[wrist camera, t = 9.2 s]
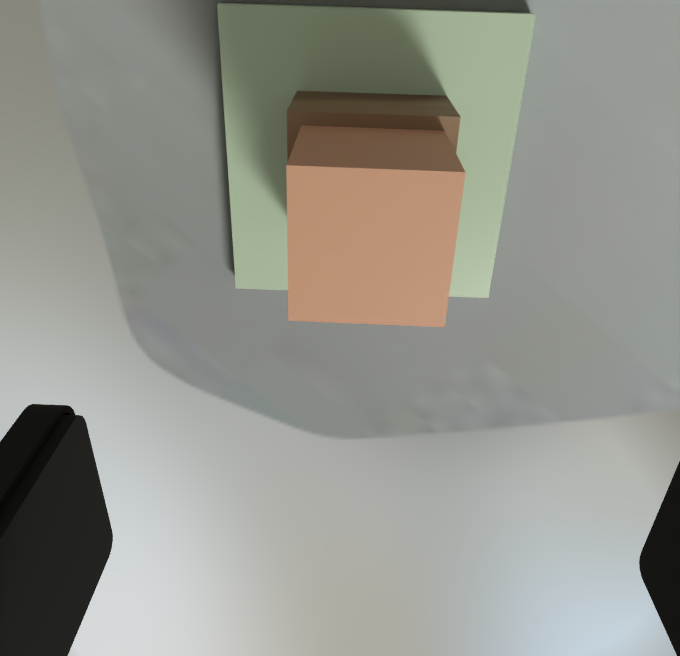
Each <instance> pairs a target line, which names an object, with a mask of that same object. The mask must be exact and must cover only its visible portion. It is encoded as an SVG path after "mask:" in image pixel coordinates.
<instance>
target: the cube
mask: <svg viewBox="0 0 680 656" xmlns="http://www.w3.org/2000/svg"><path fill="white" fill-rule="evenodd" d="M465 173H466V172H465V170H464V168H463V166H462V164H461V162H460V160H459V158H458V156H457V154H456V152H455V150H454V148H453V146H452V144H451V142H450V140H449V138H448V136H447V134H446V132H445V131H438V130H411V129H385V128H358V127H332V126H305V125H301V128H300V130H299V133H298V136H297V138H296V141H295V144H294V146H293V149H292V152H291V154H290V157H289V160H288V162H287V165H286V176H287V247H288V318H289V321H311V322H335V323H359V324H383V325H408V326H432V327H445V321H446V314H447V306H448V299H449V292H450V284H451V277H452V269H453V262H454V255H455V247H456V240H457V232H458V225H459V218H460V210H461V203H462V196H463V188H464V181H465Z"/></svg>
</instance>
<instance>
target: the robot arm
mask: <svg viewBox="0 0 680 656" xmlns="http://www.w3.org/2000/svg"><path fill="white" fill-rule="evenodd" d="M112 538H113V534H112V529H111V525H110V520H109V516H108V513H107V508H106V504H105V500H104V496H103V492H102V487H101V483H100V479H99V475H98V471H97V467H96V462H95V458H94V454H93V450H92V446H91V442H90V438H89V434H88V429H87V425H86V422H85V419H84V418H83V416H79V415H75V413H74V410H73V409H72V408H71V407H70V406H66V405H41V404H32V405H29V406H28V407H27V408H26V409H25V410H24V411H23V412H22V413H21V415H20V416H19V417H18V419H17V420H16V422H15V423H14V424H13V425H12V427H11V428H10V430H9V431H8V432H7V434H6V435H5V436H4V438H3V439H2V440H1V442H0V656H67V655H68V653H69V651H70V648H71V646H72V644H73V641H74V639H75V636H76V634H77V631H78V629H79V627H80V625H81V622H82V620H83V617H84V615H85V612H86V610H87V608H88V605H89V603H90V601H91V598H92V596H93V593H94V591H95V589H96V586H97V584H98V582H99V579H100V577H101V574H102V572H103V570H104V567H105V565H106V562H107V560H108V558H109V555H110V552H111V548H112V541H113V539H112ZM639 564H640V572H641V576H642V579H643V581H644V583H645V586H646V588H647V590H648V592H649V594H650V597H651V599H652V601H653V603H654V605H655V608H656V610H657V612H658V614H659V617H660V619H661V621H662V623H663V625H664V627H665V630H666V632H667V634H668V636H669V639H670V641H671V643H672V645H673V647H674V650H675V652H676V654H677V656H680V462H679V464H678V466H677V469H676V471H675V474H674V476H673V478H672V481H671V483H670V485H669V488H668V490H667V493H666V495H665V497H664V500H663V502H662V504H661V507H660V509H659V512H658V514H657V516H656V519H655V521H654V524H653V526H652V528H651V531H650V533H649V535H648V538H647V540H646V542H645V545H644V547H643V550H642V552H641V556H640V562H639Z"/></svg>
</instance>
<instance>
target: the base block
mask: <svg viewBox="0 0 680 656" xmlns="http://www.w3.org/2000/svg"><path fill="white" fill-rule="evenodd" d="M460 118H461V117H460V115H459V114H458V112H457V111H456V109H455V108H454V106H453V104H452V103H451V101H450V100H449V98H448V97H447V96H440V95H410V94H381V93H351V92H322V91H297V92H296V94H295V96H294V98H293V100H292V102H291V103H290V105H289V107H288V109H287V161H288V160H289V157H290V154H291V152H292V149H293V146H294V144H295V141H296V138H297V136H298V133H299V130H300V128H301V125H305V126H332V127H358V128H385V129H411V130H438V131H445V132H446V134H447V136H448V138H449V140H450V142H451V144H452V146H453V148H454V150H455V152H456V151H457V143H458V134H459V126H460Z"/></svg>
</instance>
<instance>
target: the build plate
mask: <svg viewBox="0 0 680 656" xmlns="http://www.w3.org/2000/svg"><path fill="white" fill-rule="evenodd" d="M217 11H218V26H219V41H220V56H221V71H222V87H223V102H224V117H225V132H226V147H227V162H228V178H229V193H230V208H231V223H232V238H233V254H234V269H235V284H236V288H242V289H269V290H288V247H287V176H286V165H287V162H288V161H287V109H288V107H289V105H290V103H291V102H292V100H293V98H294V96H295V94H296V92H297V91H322V92H351V93H381V94H410V95H440V96H447V97H448V98H449V100H450V101H451V103H452V104H453V106H454V108H455V109H456V111H457V112H458V114H459V115H460V117H461V118H460V126H459V134H458V143H457V151H456V154H457V156H458V158H459V160H460V162H461V164H462V166H463V168H464V170H465V172H466V173H465V181H464V188H463V196H462V203H461V210H460V218H459V225H458V232H457V240H456V247H455V255H454V262H453V269H452V277H451V284H450V292H449V296H454V297H480V298H488V296H489V290H490V285H491V279H492V273H493V267H494V261H495V255H496V249H497V243H498V237H499V231H500V225H501V219H502V213H503V207H504V202H505V196H506V190H507V184H508V178H509V172H510V166H511V160H512V154H513V148H514V142H515V136H516V130H517V124H518V119H519V113H520V107H521V101H522V95H523V89H524V83H525V77H526V71H527V65H528V59H529V53H530V47H531V41H532V36H533V30H534V24H535V18H536V14H533V13H521V12H490V11H459V10H428V9H397V8H366V7H335V6H304V5H273V4H242V3H219V4H217Z"/></svg>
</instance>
